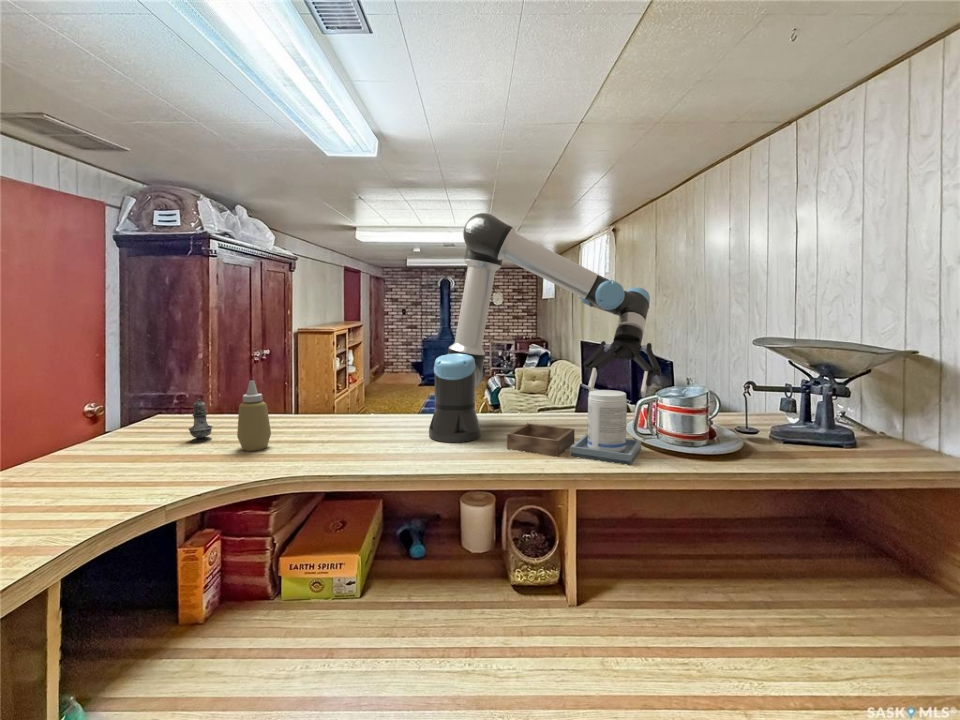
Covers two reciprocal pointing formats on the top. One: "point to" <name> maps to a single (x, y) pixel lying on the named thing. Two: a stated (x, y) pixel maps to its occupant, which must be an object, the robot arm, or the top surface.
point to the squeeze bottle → (253, 421)
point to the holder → (541, 439)
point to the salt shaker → (200, 424)
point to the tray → (623, 457)
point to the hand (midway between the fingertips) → (615, 392)
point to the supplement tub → (607, 420)
